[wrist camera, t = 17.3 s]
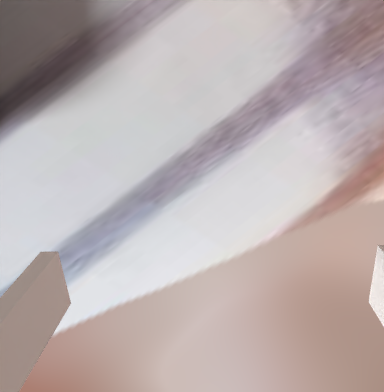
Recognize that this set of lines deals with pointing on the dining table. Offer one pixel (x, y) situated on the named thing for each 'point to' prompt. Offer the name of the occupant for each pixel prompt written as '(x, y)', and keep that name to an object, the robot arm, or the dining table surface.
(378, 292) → the robot arm
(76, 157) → the dining table surface
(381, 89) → the dining table surface
